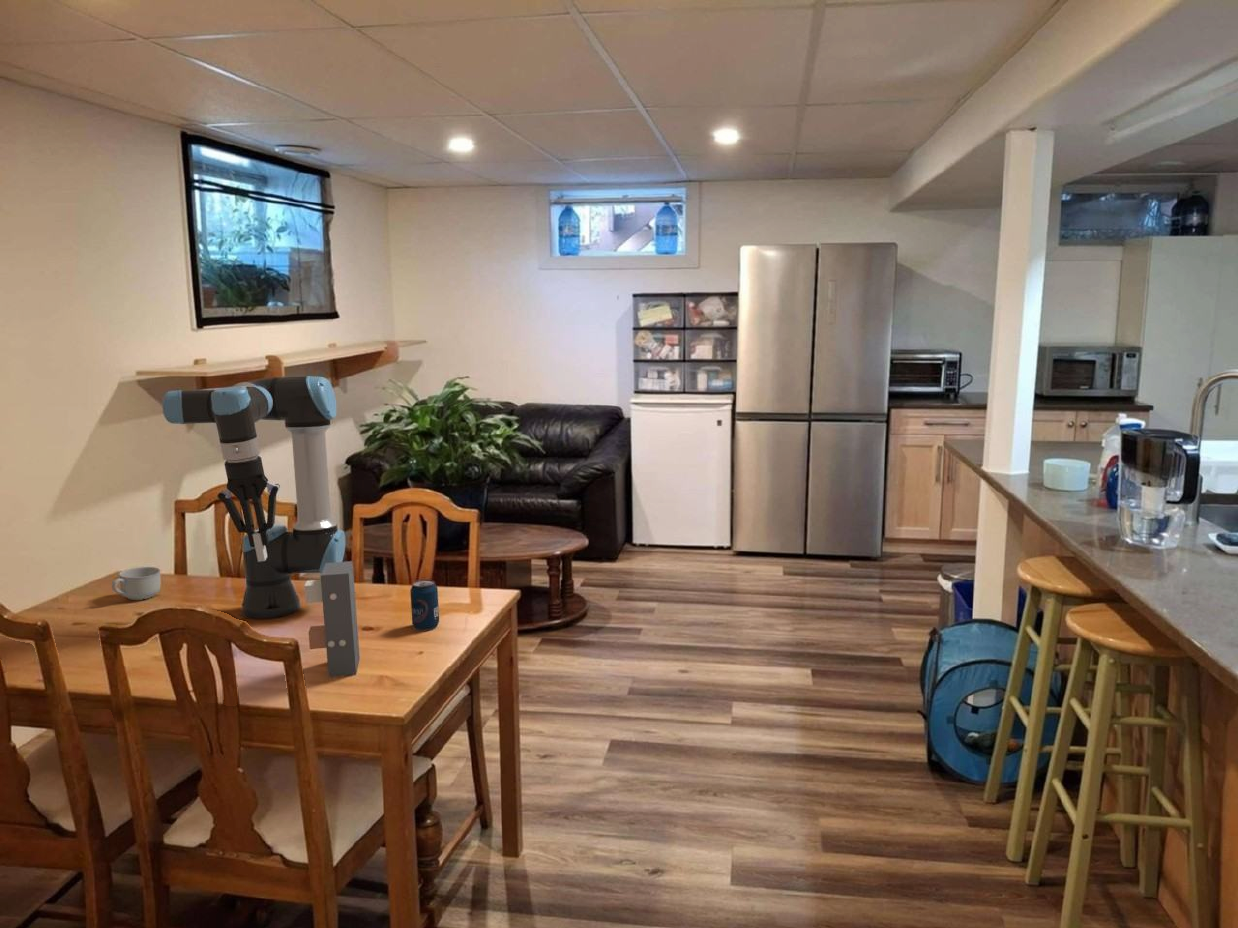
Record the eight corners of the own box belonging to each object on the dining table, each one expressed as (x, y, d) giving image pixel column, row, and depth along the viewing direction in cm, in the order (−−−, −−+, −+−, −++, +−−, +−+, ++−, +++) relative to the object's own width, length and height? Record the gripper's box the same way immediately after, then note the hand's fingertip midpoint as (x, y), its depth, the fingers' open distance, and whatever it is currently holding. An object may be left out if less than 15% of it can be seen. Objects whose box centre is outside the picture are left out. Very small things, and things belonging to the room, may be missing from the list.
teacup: (151, 589, 266) (148, 563, 265) (170, 595, 260) (167, 569, 259) (103, 601, 255) (100, 575, 254) (121, 608, 249) (118, 581, 248)
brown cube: (309, 649, 200) (308, 632, 199) (312, 642, 204) (310, 626, 203) (328, 647, 201) (326, 630, 200) (330, 641, 205) (328, 624, 204)
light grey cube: (305, 602, 198) (304, 585, 197) (308, 597, 202) (307, 580, 201) (324, 601, 199) (323, 584, 198) (326, 595, 203) (325, 579, 202)
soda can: (407, 629, 228) (404, 585, 226) (422, 620, 234) (419, 577, 232) (430, 632, 226) (427, 587, 224) (444, 623, 232) (442, 580, 230)
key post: (328, 678, 198) (320, 576, 194) (333, 660, 209) (325, 563, 204) (356, 675, 200) (348, 574, 196) (359, 658, 210) (352, 561, 206)
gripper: (206, 466, 187) (228, 569, 193) (269, 458, 188) (289, 561, 195) (215, 457, 194) (236, 557, 200) (276, 450, 196) (295, 549, 202)
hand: (262, 559), depth 197 cm, fingers closed
